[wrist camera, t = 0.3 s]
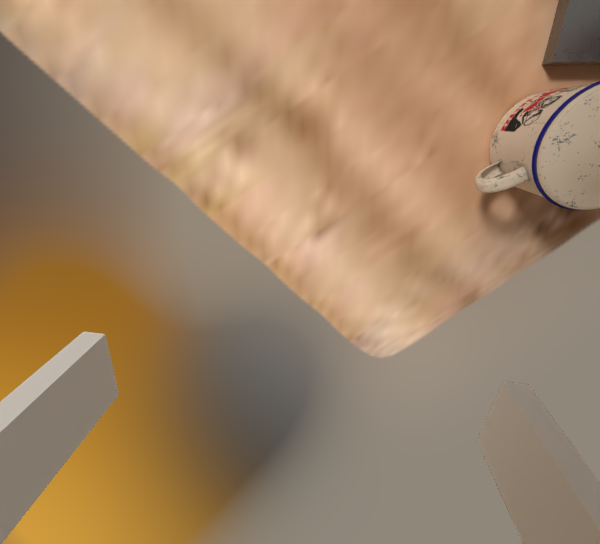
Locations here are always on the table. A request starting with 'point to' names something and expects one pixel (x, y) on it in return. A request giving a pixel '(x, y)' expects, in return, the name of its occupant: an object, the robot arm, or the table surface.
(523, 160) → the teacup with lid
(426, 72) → the table surface
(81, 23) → the table surface
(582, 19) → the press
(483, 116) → the table surface
